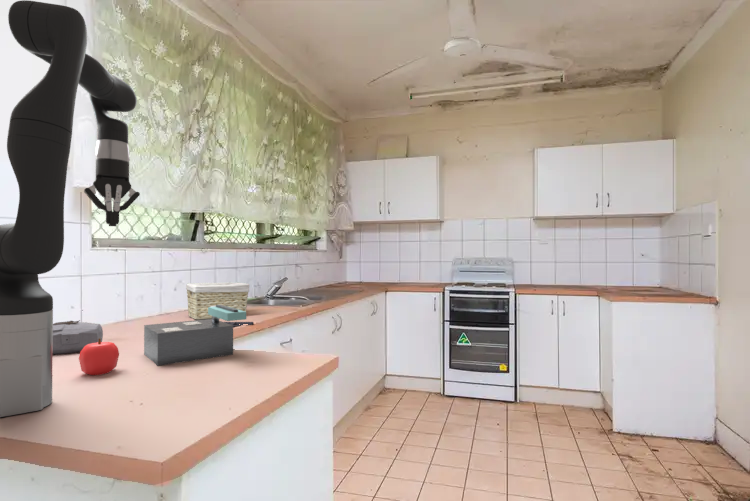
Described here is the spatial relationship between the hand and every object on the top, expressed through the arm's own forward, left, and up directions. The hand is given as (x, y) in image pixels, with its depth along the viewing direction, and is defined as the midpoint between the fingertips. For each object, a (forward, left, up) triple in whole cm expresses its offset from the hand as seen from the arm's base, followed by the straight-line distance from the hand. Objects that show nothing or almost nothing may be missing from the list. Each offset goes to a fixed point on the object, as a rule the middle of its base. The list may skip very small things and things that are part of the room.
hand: (112, 226), depth 113 cm
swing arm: (-12, -25, -24) cm, 37 cm away
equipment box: (-6, -18, -35) cm, 40 cm away
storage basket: (+61, -48, -35) cm, 86 cm away
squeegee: (+30, -42, -36) cm, 63 cm away
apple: (-12, +4, -35) cm, 37 cm away
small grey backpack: (+23, +9, -35) cm, 43 cm away
